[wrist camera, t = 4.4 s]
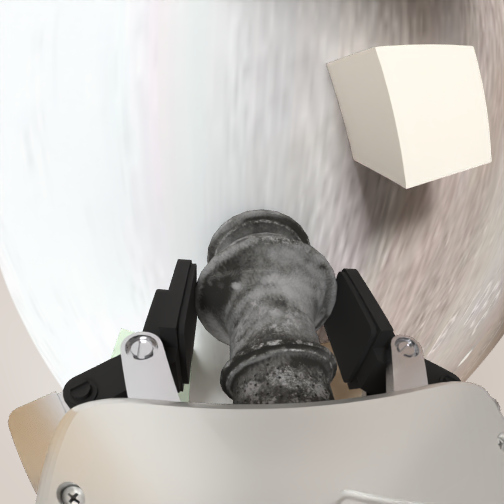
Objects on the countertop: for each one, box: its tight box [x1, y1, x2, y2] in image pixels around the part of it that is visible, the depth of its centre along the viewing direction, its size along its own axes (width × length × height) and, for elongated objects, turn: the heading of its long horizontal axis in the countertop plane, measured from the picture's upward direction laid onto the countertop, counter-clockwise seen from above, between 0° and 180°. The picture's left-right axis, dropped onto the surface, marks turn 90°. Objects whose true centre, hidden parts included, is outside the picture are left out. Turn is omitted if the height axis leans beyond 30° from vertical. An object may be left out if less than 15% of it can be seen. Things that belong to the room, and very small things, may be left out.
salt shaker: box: [195, 210, 337, 404], centre depth 9 cm, size 6×6×12 cm
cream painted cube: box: [326, 44, 491, 189], centre depth 10 cm, size 5×5×5 cm
